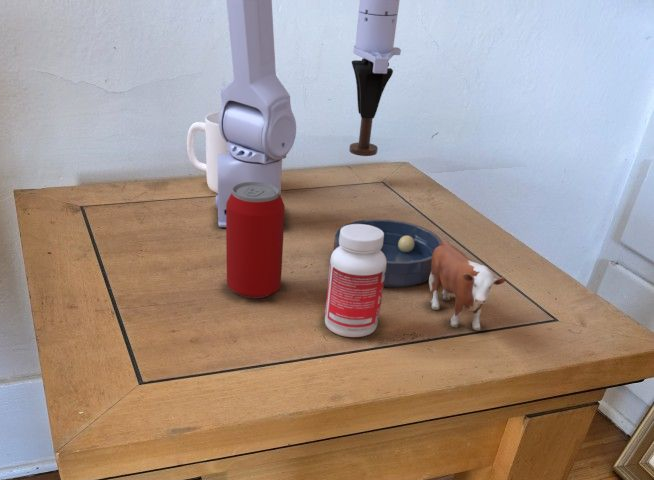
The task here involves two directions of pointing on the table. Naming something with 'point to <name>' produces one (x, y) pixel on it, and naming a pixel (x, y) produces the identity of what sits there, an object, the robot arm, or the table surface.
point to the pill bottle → (356, 281)
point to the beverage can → (254, 239)
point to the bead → (406, 244)
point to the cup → (208, 148)
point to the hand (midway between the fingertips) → (366, 115)
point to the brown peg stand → (364, 140)
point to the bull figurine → (460, 282)
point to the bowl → (400, 264)
